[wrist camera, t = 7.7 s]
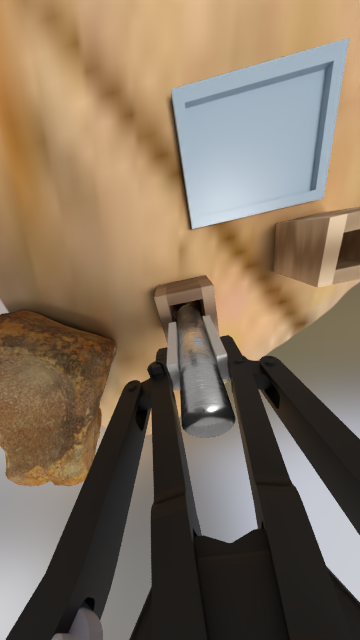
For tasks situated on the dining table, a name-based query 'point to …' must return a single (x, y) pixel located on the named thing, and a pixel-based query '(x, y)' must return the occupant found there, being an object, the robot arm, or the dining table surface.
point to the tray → (259, 134)
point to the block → (319, 248)
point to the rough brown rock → (50, 398)
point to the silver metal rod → (200, 380)
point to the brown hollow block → (185, 299)
